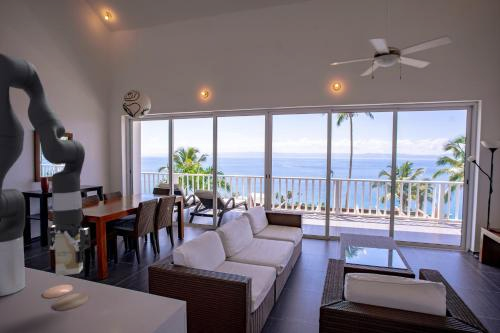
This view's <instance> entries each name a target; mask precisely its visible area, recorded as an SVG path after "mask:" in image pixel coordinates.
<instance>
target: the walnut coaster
mask: <svg viewBox="0 0 500 333" xmlns="http://www.w3.org/2000/svg"><path fill="white" fill-rule="evenodd" d="M88 300H89V296H88V294H87V293H79V292H78V293H72V294H66V295H65V296H64V295H63V296H61V297H60V298H58V299H57V300H56V301H54V302H53V304H52V308H53V309H54V310H56V311H68V310H72V309H75V308H78V307H80V306H83V305H84V304H85V303H87V301H88Z"/></svg>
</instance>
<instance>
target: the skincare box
mask: <svg viewBox="0 0 500 333" xmlns="http://www.w3.org/2000/svg"><path fill="white" fill-rule="evenodd" d="M73 239H74V240H79V239H80V235H79V233H77V235H76V236H75V237H74V238H73ZM77 244H78V245H79V246H80V244H79V242H78V243H77ZM75 251H76V250H75V248H74V246H73V245H71V244H70V242H69V240H68V238H67V237H66V236H65V234H64V233H61V234H59V233H57V234H56V235H55V250H54V256H55V255H56V260H55V276H66V275H67V276H68V275H76V274H80V273H81V271H83V269H84V261H83V262H82V263H79V264H78V263H76V254H75Z"/></svg>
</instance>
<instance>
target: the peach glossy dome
mask: <svg viewBox="0 0 500 333" xmlns="http://www.w3.org/2000/svg"><path fill="white" fill-rule="evenodd" d="M73 290H74V289H73V285H71V284H60V285H55V286H52V287H50V288H47V289H46V290H44V291H43V293H42V295H43V297H44V298H49V299H51V298H58V297H63V296H64V295H65V296H66V295H68V293H70V292H72V291H73Z"/></svg>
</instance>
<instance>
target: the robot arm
mask: <svg viewBox="0 0 500 333" xmlns="http://www.w3.org/2000/svg"><path fill="white" fill-rule="evenodd" d="M11 88H13V89H18V90H23V92H25V94H26V95H27V96H28V98H29V103H28V106H27V118H28V120H29V122H30V124H31V125H32V127H33V129H34V130H35V132H36V134H37V135H38V139H39V144H40V148H41V154H42V156H43V157H44V159H45V160H46V161H47V162H49V163H50V164H52V165H53V164H54V165H63V166H64V167H63V169H62V170H60V171H58V172H55V173H53V174H52V176H51V189H52V190H51V193H52V197H51V212H52V213H51V214H52V215H51V216H52V224H53V225H51V226H47V228H46V230H47V244H48V247H52V249H53V250H54V251H55V235H56V234H57V233H59V234H61V233H64V234H65V236H66V237H67V238H68V240H69V242H70V244H71V245H73V246H74V248H75V250H76V251H75V254H76V263H78V264H79V263H82V262H83V263H84V261H85V259H86V258H85V250H86V249H88V248H91V229H90V227H82V226H81V222H83V203H82V202H83V201H82V194H81V179H80V178H81V174H82V170H83V167H84V162H85V158H86V157H85V156H86V151H85V147H84V146H83V144H82V143H81V142H80V141H78V140H74V139H61V138H63V137H64V136H65V134H66V127H65V126H64V124H63V122H62V121H61V119H60V118H59V116H58V114H57V113H56V111H55V110H54V108H53V106H52V104H51V102H50V100H49V97H48V96H47V92H46V89H45V87H44V84H43V82H42V79H41V77H40V74H39V72H38V70H37V69H36V67H35V65H34V64H33V63H31V62H29V61H27V60H25V59H21V58H18V57H15V56H11V55H8V54H5V53H0V297H4V296H8V295H12V294H15V293H17V292H20V291H21V290H23V289H25V287H26V279H25V278H26V276H25V254H24V248H25V247H24V229H25V227H26V226H25V225H26V200H25V196H24V194H23V192H21V190H19V189H17V188H6V189H5V188H4V189H3V185H4V180H5V178H6V176H7V174H8V172H9V171H10V170H11V168H12V167H13V166H14V165H15V164H16V162H17V161H18V160H19V158H20V157H21V155H22V154H23V153H22V152H23V149H24V140H25V129H24V126H23V125H22V122H21V121H20V119H19V117H18V116H17V114H16V112H15V110H14V108H13V105H12V104H11V96H10V89H11ZM77 233H79V235H80V239H79V240H74V239H73V238H74V237H75V236H76V235H77ZM78 242H79V244H80V246H79V245H78V244H77V243H78ZM54 259H55V261H56V255H55V254H54Z"/></svg>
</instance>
